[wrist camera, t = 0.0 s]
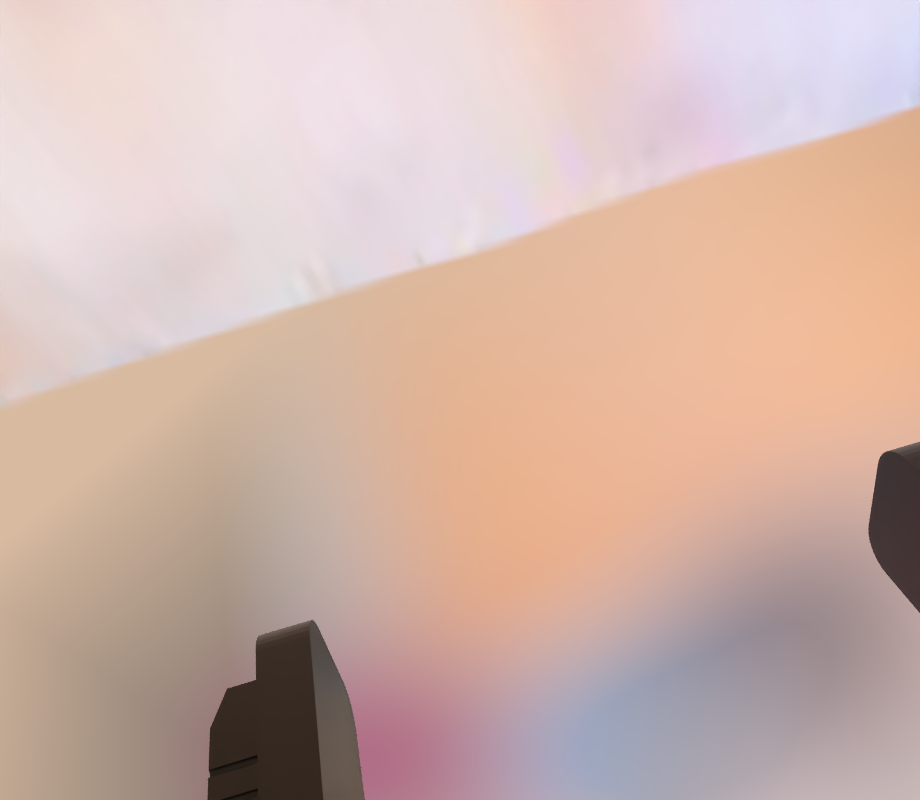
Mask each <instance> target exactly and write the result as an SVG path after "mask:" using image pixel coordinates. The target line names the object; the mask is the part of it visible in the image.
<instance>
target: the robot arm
mask: <svg viewBox="0 0 920 800" xmlns="http://www.w3.org/2000/svg"><path fill="white" fill-rule="evenodd" d="M869 539H870V543H871V546H872V549H873V552H874V554H875V556H876V558H877V560H878V562H879V564H880V565H881V567H882V568H883V570H884V571H885V572H886V574H887V575H888V576H889V577H890V578H891V579H892V581H893V582H894V583H895V584H896V585H897V587H898V588H899V589H900V590H901V591H902V592H903V594H904V595H905V596H906V597H907V598H908V599H909V601H910V602H911V603H912V604H913V605H914V607H915V608H916V609H917V610H918V611H919V612H920V442H918V443H914V444H911V445H907V446H904V447H901V448H897V449H894V450H890V451H887V452H885V453H883V454H882V456H881V457H880V459H879V463H878V468H877V475H876V481H875V488H874V494H873V501H872V507H871V514H870V521H869ZM209 772H210V778H208V800H365V799H364V790H363V783H362V774H361V766H360V758H359V750H358V742H357V734H356V727H355V721H354V716H353V712H352V707H351V704H350V700H349V697H348V693H347V690H346V687H345V685H344V682H343V680H342V678H341V676H340V674H339V672H338V669H337V667H336V665H335V663H334V661H333V659H332V656H331V654H330V652H329V650H328V648H327V646H326V643H325V641H324V639H323V637H322V635H321V633H320V630H319V628H318V626H317V624H316V623H315V622H314V621H313V620H311V621H307V622H303V623H300V624H297V625H293V626H290V627H287V628H283V629H280V630H277V631H273V632H270V633H266V634H263V635H260V636H258V638H257V641H256V680H255V681H251V682H248V683H245V684H241V685H238V686H235V687H232V688H228V689H227V690H226V693H225V695H224V698H223V700H222V702H221V705H220V707H219V709H218V712H217V714H216V716H215V719H214V721H213V723H212V726H211V728H210V747H209Z"/></svg>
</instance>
